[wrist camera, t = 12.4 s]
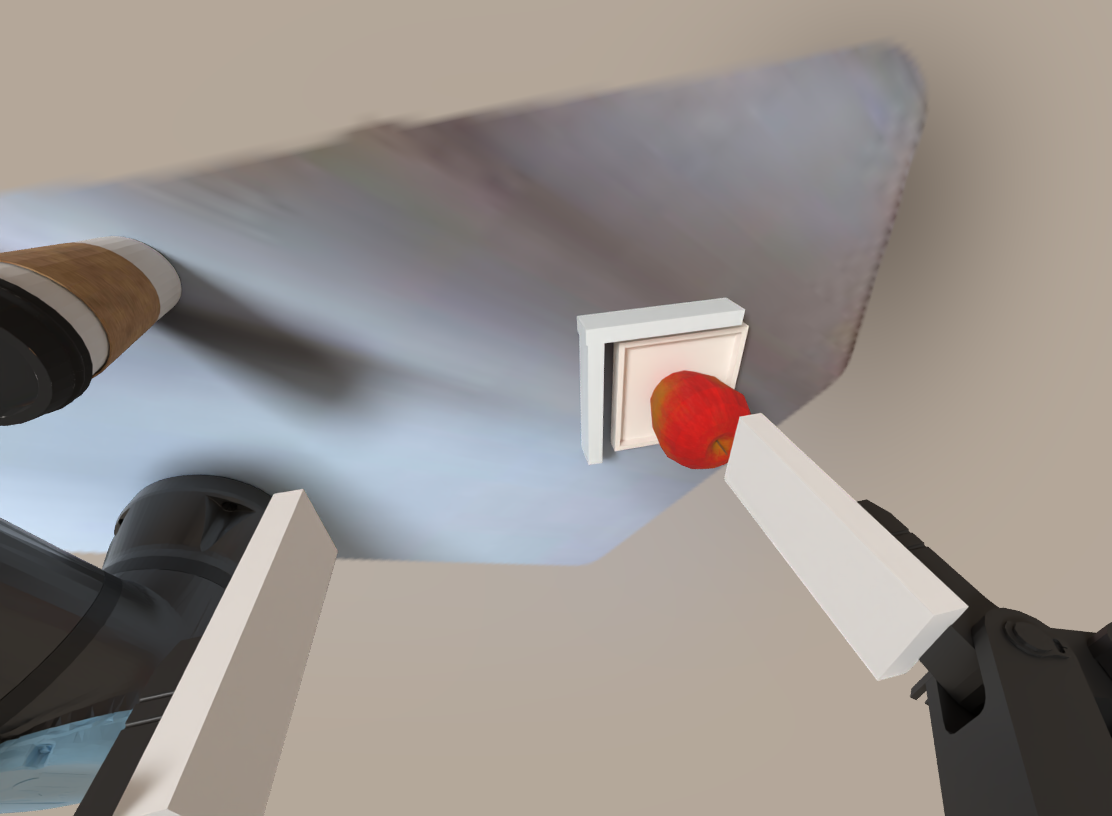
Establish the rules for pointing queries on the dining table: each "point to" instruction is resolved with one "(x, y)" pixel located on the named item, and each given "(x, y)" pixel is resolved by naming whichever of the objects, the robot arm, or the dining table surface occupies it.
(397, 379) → the dining table surface
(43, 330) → the coffee cup
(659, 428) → the apple
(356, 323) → the dining table surface
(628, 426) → the dish
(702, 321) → the pen walls
